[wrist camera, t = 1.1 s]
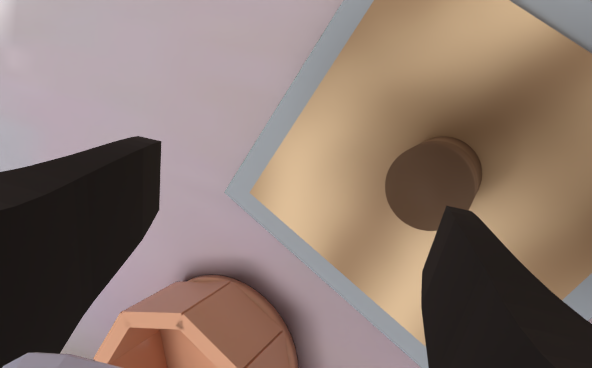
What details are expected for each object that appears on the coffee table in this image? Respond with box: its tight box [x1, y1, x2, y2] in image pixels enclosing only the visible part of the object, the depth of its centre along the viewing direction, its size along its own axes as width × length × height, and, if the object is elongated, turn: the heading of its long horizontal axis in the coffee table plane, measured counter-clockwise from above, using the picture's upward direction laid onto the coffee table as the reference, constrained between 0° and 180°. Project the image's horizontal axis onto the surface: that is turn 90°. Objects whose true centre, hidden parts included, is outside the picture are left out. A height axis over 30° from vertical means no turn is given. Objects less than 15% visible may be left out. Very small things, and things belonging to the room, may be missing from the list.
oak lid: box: [249, 0, 592, 347], centre depth 19 cm, size 13×13×4 cm
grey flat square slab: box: [224, 0, 592, 368], centre depth 21 cm, size 16×16×1 cm
